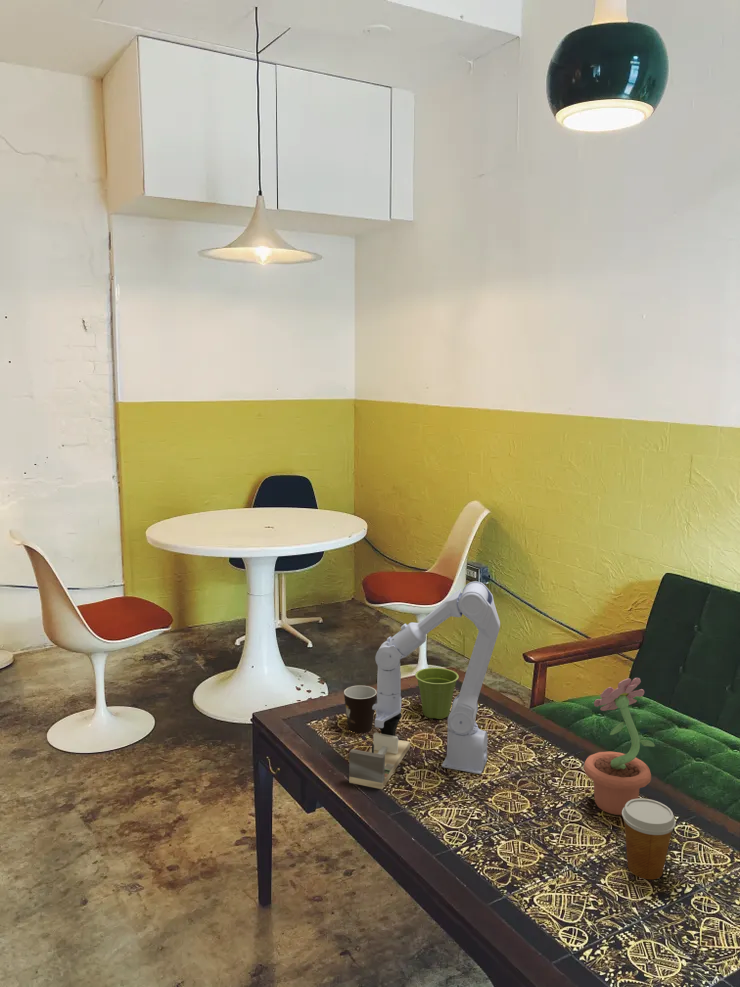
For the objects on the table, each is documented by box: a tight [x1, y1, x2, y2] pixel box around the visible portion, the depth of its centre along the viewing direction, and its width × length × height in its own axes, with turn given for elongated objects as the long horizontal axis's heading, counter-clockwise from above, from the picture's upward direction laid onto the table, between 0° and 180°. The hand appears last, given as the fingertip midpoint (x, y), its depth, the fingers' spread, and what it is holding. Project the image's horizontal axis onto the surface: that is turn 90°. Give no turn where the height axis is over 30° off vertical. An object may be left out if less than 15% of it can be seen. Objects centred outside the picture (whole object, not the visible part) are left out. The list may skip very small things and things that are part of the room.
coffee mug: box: [343, 685, 377, 734], centre depth 205 cm, size 12×9×10 cm
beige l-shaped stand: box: [348, 739, 411, 790], centre depth 184 cm, size 21×8×8 cm, turn 160°
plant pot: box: [414, 667, 460, 720], centre depth 212 cm, size 12×12×11 cm
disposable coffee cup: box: [621, 797, 677, 880], centre depth 146 cm, size 10×10×12 cm
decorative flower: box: [583, 677, 656, 816], centre depth 166 cm, size 15×14×30 cm
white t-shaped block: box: [372, 732, 399, 755], centre depth 184 cm, size 8×6×4 cm
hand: (388, 743), depth 189 cm, fingers closed
